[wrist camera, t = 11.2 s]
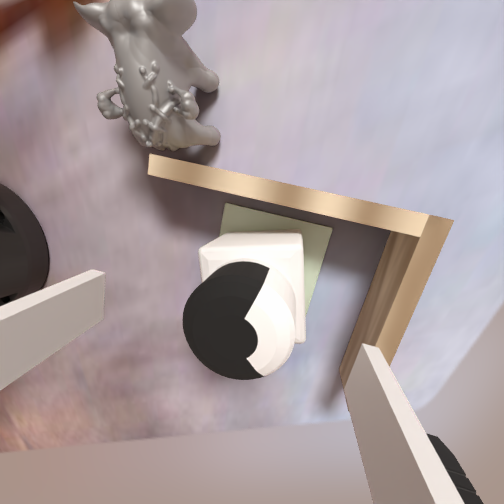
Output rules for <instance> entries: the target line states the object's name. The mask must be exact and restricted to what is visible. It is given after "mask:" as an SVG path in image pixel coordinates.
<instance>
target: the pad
mask: <svg viewBox="0 0 504 504" xmlns="http://www.w3.org/2000/svg"><path fill="white" fill-rule="evenodd" d="M286 229H300V230H301V231H302V238H303V254H304V289H305V317H306V314H307V311H308V307H309V304H310V301H311V298H312V294H313V291H314V288H315V285H316V281H317V278H318V275H319V272H320V268H321V265H322V262H323V259H324V255H325V252H326V249H327V246H328V242H329V239H330V236H331V233H332V229H333V228H331V227H326V226H322V225H318V224H314V223H310V222H305V221H301V220H297V219H293V218H288V217H284V216H280V215H276V214H271V213H267V212H263V211H259V210H254V209H250V208H246V207H242V206H237V205H233V204H229V203H225V206H224V212H223V218H222V223H221V229H220V234H219V237H220V236H222V235H224V234H225V233H228V232H244V231H265V230H286Z"/></svg>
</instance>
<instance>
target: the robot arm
mask: <svg viewBox="0 0 504 504" xmlns="http://www.w3.org/2000/svg"><path fill="white" fill-rule="evenodd" d="M47 272H48V250H47V245H46V241H45V237H44V234H43V232H42V229H41V227H40V225H39V223H38V221H37V219H36V218H35V216H34V214H33V213H32V211H31V210H30V209H29V207H28V206H27V205H26V204H25V203H24V201H23V200H22V199H21V198H20V197H19V196H17V195H16V194H15V193H14V192H13V191H11V190H10V189H9V188H7V187H5V186H4V185H2V184H0V390H2V389H3V388H5V387H6V386H8V385H9V384H11V383H12V382H13V381H15V380H16V379H18V378H19V377H21V376H22V375H24V374H25V373H26V372H28V371H29V370H31V369H32V368H34V367H35V366H37V365H38V364H39V363H41V362H42V361H44V360H45V359H47V358H48V357H50V356H51V355H52V354H54V353H55V352H57V351H58V350H60V349H61V348H62V347H64V346H65V345H67V344H68V343H70V342H71V341H73V340H74V339H75V338H77V337H78V336H80V335H81V334H83V333H84V332H86V331H87V330H88V329H90V328H91V327H93V326H94V325H96V324H97V323H99V322H100V321H101V320H103V319H104V298H105V276H106V273H104V272H100V271H97V270H93V269H92V270H89V271H87V272H84V273H82V274H79V275H77V276H74V277H72V278H69V279H67V280H64V281H62V282H59V283H57V284H55V285H52V286H50V287H47V288H45V289H42V290H40V289H41V288H42V286H43V284H44V282H45V279H46V276H47ZM39 290H40V291H39ZM344 392H345V396H346V400H347V404H348V408H349V412H350V415H351V419H352V423H353V427H354V431H355V435H356V438H357V442H358V446H359V450H360V454H361V458H362V462H363V465H364V469H365V473H366V477H367V480H368V485H369V488H370V492H371V496H372V500H373V504H483V502H482V500H481V499H480V497H479V496H477V495H476V490H475V489H474V487H473V486H472V484H471V482H470V481H469V479H468V478H466V474H465V473H464V471H463V469H462V468H461V466H460V464H459V463H458V461H457V459H456V458H455V456H454V455H453V454H452V452H451V451H450V450H449V449H448V448H447V447H446V446H445V445H444V443H443V442H442V441H441V440H440V439H439V438H438V437H436V436H433V435H430V434H426V433H425V431H424V429H423V427H422V425H421V424H420V422H419V420H418V418H417V416H416V414H415V413H414V411H413V409H412V407H411V405H410V403H409V402H408V400H407V398H406V396H405V394H404V393H403V391H402V389H401V387H400V385H399V383H398V382H397V380H396V378H395V376H394V374H393V373H392V371H391V369H390V367H389V365H388V363H387V362H386V360H385V358H384V356H383V354H382V352H381V351H380V349H379V348H378V347H374V346H371V345H367V344H363V343H362V345H361V348H360V350H359V353H358V355H357V358H356V360H355V363H354V365H353V368H352V370H351V373H350V375H349V378H348V380H347V383H346V385H345V388H344Z"/></svg>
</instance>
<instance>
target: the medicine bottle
mask: <svg viewBox="0 0 504 504" xmlns="http://www.w3.org/2000/svg"><path fill="white" fill-rule="evenodd" d="M198 255H199V263H200V271H201V279H202V283H201V284H200V285H199V286H198V287H197V288H196V289H195V290H194V291H193V293H192V294H191V295H190V297H189V298H188V300H187V303H186V305H185V308H184V312H183V329H184V334H185V337H186V340H187V342H188V344H189V346H190V348H191V350H192V351H193V353H194V355H195V356H196V357H197V358H198V359H199V360H200V361H201V362H202V363H203V364H204V365H205V366H206V367H208V368H209V369H210V370H212V371H214V372H215V373H217V374H220V375H222V376H225V377H228V378H232V379H238V380H250V379H256V378H261V377H264V376H267V375H269V374H271V373H273V372H274V371H276V370H277V369H279V368H280V367H281V366H282V365H283V364H284V363H285V362H286V360H287V359H288V358H289V356H290V354H291V352H292V349H293V346H294V343H298V344H301V343H304V342H305V339H306V325H305V289H304V254H303V238H302V231H301V230H300V229H286V230H265V231H244V232H228V233H225V234H224V235H222V236H220V237H218V238H217V239H215V240H213V241H211V242H209V243H208V244H206V245H204V246H202V247H201V248H200V249H199V250H198Z"/></svg>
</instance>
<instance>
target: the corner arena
mask: <svg viewBox="0 0 504 504" xmlns="http://www.w3.org/2000/svg"><path fill="white" fill-rule="evenodd" d="M148 175H153V176H157V177H161V178H166V179H170V180H174V181H179V182H183V183H187V184H192V185H196V186H200V187H205V188H209V189H213V190H218V191H222V192H226V193H231V194H235V195H239V196H244V197H248V198H252V199H257V200H261V201H266V202H270V203H274V204H279V205H283V206H287V207H292V208H296V209H300V210H305V211H309V212H313V213H318V214H322V215H326V216H331V217H335V218H339V219H344V220H348V221H352V222H357V223H361V224H365V225H370V226H374V227H378V228H383V229H387V230H391V232H390V235H389V237H388V240H387V243H386V245H385V248H384V251H383V253H382V256H381V259H380V261H379V264H378V267H377V269H376V272H375V275H374V277H373V280H372V283H371V285H370V288H369V291H368V293H367V296H366V299H365V301H364V304H363V307H362V309H361V312H360V315H359V317H358V320H357V323H356V325H355V328H354V331H353V333H352V336H351V339H350V341H349V344H348V347H347V349H346V352H345V355H344V357H343V360H342V362H341V365H340V368H339V372H340V376H341V381H342V385H343V389H344V388H345V385H346V383H347V380H348V378H349V375H350V373H351V370H352V368H353V365H354V363H355V360H356V358H357V355H358V353H359V350H360V348H361V345H362V343H363V344H367V345H371V346H374V347H378V348H379V349H380V351H381V352H382V354H383V356H384V358H385V360H386V362H387V363H388V365H389V367H390V364H391V362H392V360H393V357H394V355H395V353H396V351H397V348H398V346H399V344H400V342H401V339H402V337H403V335H404V333H405V330H406V328H407V326H408V324H409V321H410V319H411V317H412V315H413V312H414V310H415V308H416V306H417V303H418V301H419V299H420V296H421V294H422V292H423V290H424V287H425V285H426V283H427V281H428V278H429V276H430V274H431V272H432V269H433V267H434V265H435V263H436V260H437V258H438V256H439V254H440V251H441V249H442V247H443V244H444V242H445V240H446V238H447V235H448V233H449V231H450V229H451V226H452V224H453V222H454V220H451V219H446V218H442V217H437V216H433V215H428V214H423V213H419V212H414V211H410V210H405V209H401V208H396V207H391V206H387V205H382V204H378V203H373V202H369V201H364V200H359V199H355V198H350V197H346V196H341V195H337V194H332V193H327V192H323V191H318V190H314V189H309V188H305V187H300V186H295V185H291V184H286V183H282V182H277V181H273V180H268V179H263V178H259V177H254V176H250V175H245V174H241V173H236V172H231V171H227V170H222V169H218V168H213V167H209V166H204V165H199V164H195V163H190V162H186V161H181V160H177V159H172V158H167V157H163V156H158V155H154V154H150V155H149V166H148ZM344 394H345V392H344ZM345 398H346V396H345ZM346 403H347V400H346ZM347 407H348V404H347ZM348 411H349V408H348Z"/></svg>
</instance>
